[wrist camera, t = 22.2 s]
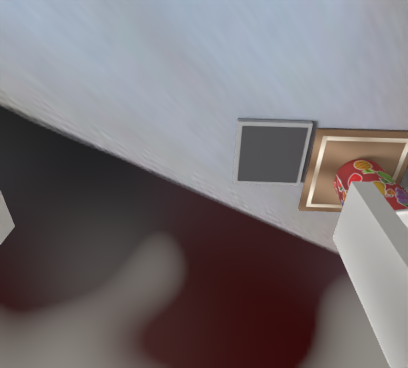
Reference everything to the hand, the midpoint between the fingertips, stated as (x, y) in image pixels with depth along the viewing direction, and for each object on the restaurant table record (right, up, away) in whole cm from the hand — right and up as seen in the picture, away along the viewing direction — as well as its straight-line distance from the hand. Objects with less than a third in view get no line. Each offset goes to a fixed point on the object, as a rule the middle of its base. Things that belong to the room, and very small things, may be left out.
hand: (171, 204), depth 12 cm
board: (+24, +2, +35) cm, 43 cm away
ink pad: (+11, +5, +34) cm, 36 cm away
